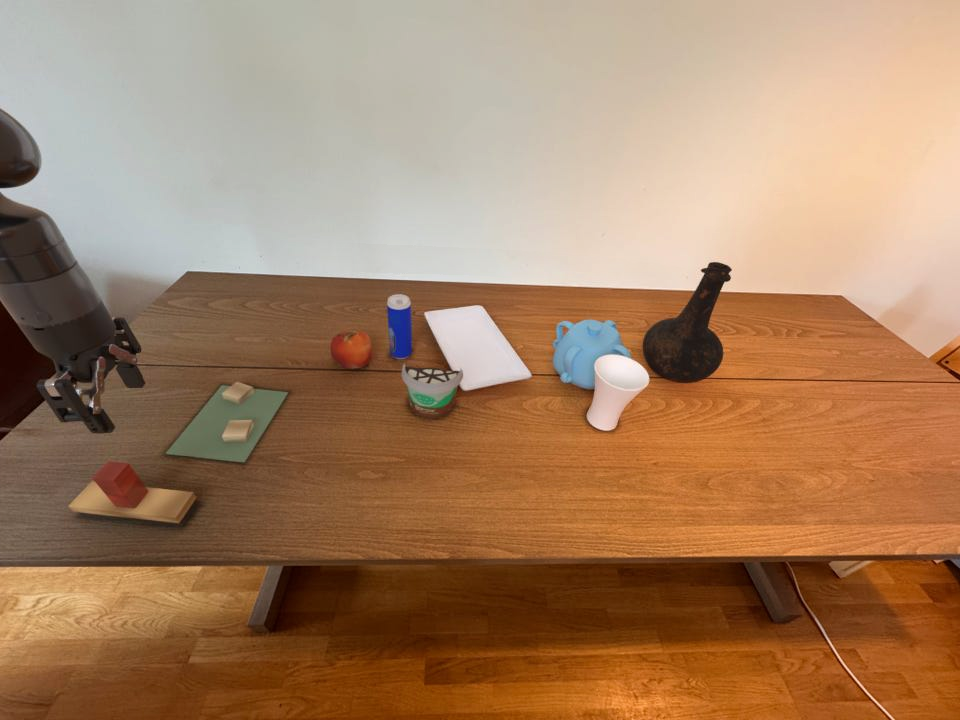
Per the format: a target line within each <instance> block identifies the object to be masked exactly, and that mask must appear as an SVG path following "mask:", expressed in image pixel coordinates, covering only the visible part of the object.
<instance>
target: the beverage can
mask: <svg viewBox="0 0 960 720" xmlns="http://www.w3.org/2000/svg"><path fill="white" fill-rule="evenodd" d="M386 312H387V313H386V314H387V324H388V339H389V353H390V355H391V356H392V357H393V358H394V359H397V360H405V359H408V358H409V357H410V356H411V355H412V353H413V338H412V336H413V335H412V333H413V332H412V330H413V329H412V301H411V299H410V297H409V296H407V295H405V294H401V293H397V294H392V295H390V296H389V297H388V298H387V302H386Z"/></svg>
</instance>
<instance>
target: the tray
mask: <svg viewBox="0 0 960 720" xmlns="http://www.w3.org/2000/svg"><path fill="white" fill-rule="evenodd" d="M423 316H424V318H425V320H426V322H427V324H428V326H429V328H430V330H431V332H432V334H433V336H434V339H435V341H436V342H437V344H438V347H439V349H440V350H441V352H442V354H443V356H444V358H445V360H446V362H447V364H448V365H449V368H450V370H451V371H460V369H461V370H462V371H463V379H462V381H461V382H460V384H459V385H458V386H459V387H460V389H461V390H462V391H465V392H468V391H473V390H479V389H483V388H487V387H488V388H489V387H492V386H497V385H502V384H508V383H512V382H513V383H514V382H518V381H524V380H528V379H531V378H532V377H533V375H532V373H531V371H530V369H529V368H528V367H527V365H526V364H525V363H524V361H523V360H522V359H521V358H520V356H519V355H518V353H517V352H516V351H515V349H514V348H513V346H512V345H511V344H510V342H509V341H508V339H507V338H506V337H505V335H504V334H503V332H502V331H501V330H500V328H499V327H498V326H497V324H496V323H495V322H494V320H493V319H492V317H491V316H490V315H489V313H488V312H487V311H486V309H485V307H484V306H482V305H468V306H462V307H452V308H445V309H436V310H428V311H424V312H423Z"/></svg>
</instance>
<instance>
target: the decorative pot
mask: <svg viewBox="0 0 960 720" xmlns="http://www.w3.org/2000/svg"><path fill="white" fill-rule="evenodd" d="M563 327H565V328H567V331H566V332H565V334H564V331H563V330H564V329H563ZM617 328H618V325H617V323H616V322H615V321H613V320H611V319H607V320H605V321H603V322H602V321H600V320H597V319H584V320H581V321H579V322H577V323H575V324H574V323H573V322H572V321H569V320H563V321H560V322H559V323H557V325H556V328H555V333H556V339H555V340H554V341H553V343H552V346H553V348H554V353H553V355H552V366H553V368H554V370H555V372H556V373H557V374H558V375H559V376H560V377H559V379H560V381H561V383H564V384H568V383H570V384H572V385H574V386H577V387H579V388H581V389H585V390H595V368H594V364H595V362H596V360H597V359H598V358H599V357H602V356H604V355H610V354H612V355H621V356H625V357H628V358H630V359H632V356H631V352H630V351H629V349H628V348H627V347H626V346H624V343H623V341H622V337H621V335H620V332H619V331H618V330H617Z"/></svg>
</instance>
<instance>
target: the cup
mask: <svg viewBox="0 0 960 720" xmlns="http://www.w3.org/2000/svg"><path fill="white" fill-rule="evenodd" d="M594 368H595V389H594V392H593V398H592V401H591V405H590V406H589V408H588V410H587V413H586V420H587V422H588V423H589V424H590V425H591V426H592V427H594V428H595V429H598V430H601V431H605V432H606V431H608V432H609V431H613V430H614V429H616V427H617V426H618V422H619V420H620V417H621V416H622V413H623V411H624V409H625V408H626V407H627V406H628V405H629V403H630V402H631V401H632V400H634V398H635V397H637V396H638V395H639V394H640V393H641V392H642V391H643V390H644V389H646V387H648V385H649V383H650V374H649V373H648V371H647V369H646V368H645V367H644V366H643V364H640V363H639V362H638V361H636V360H635V359H633V358H631V359H630V358H628V357H625V356H621V355H612V354H610V355H604V356H602V357H599V358H598V359H597V360H596V362H595V364H594Z"/></svg>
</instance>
